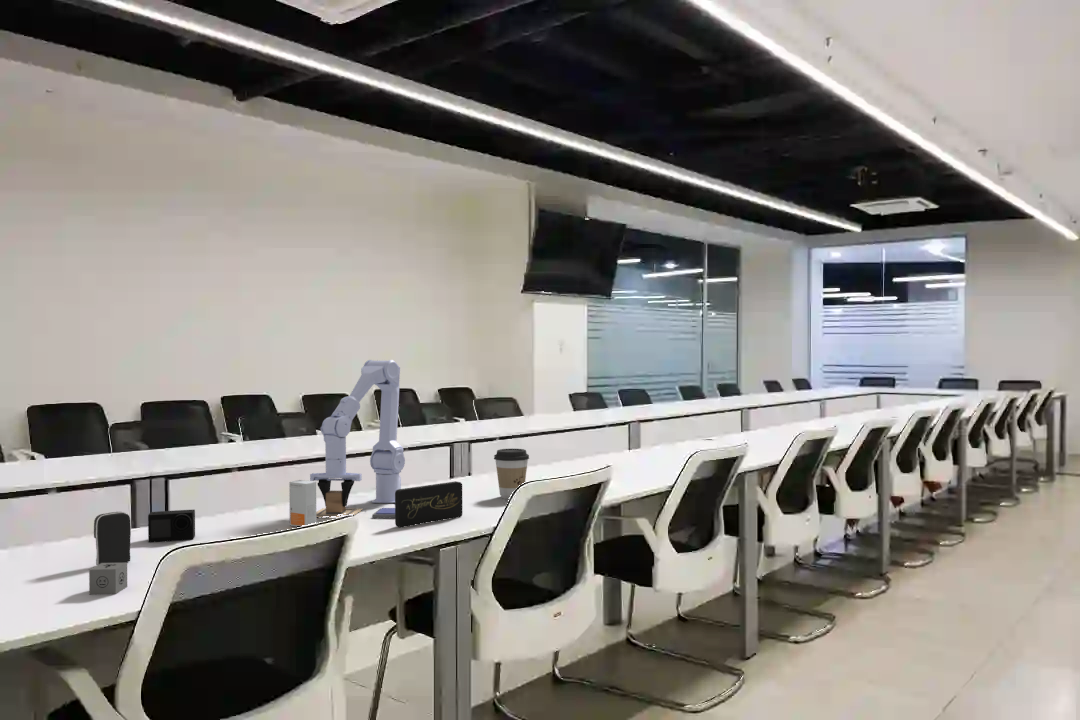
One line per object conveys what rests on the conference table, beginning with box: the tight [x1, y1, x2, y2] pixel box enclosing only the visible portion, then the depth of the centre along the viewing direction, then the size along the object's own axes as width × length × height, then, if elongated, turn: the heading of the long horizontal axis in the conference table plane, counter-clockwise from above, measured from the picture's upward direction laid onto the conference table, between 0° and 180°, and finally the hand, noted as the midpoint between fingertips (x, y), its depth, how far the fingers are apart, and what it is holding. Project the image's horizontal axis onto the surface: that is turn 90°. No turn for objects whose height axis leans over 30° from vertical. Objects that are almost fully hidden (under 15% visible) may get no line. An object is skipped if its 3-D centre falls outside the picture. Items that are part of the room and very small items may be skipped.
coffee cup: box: [493, 448, 530, 500], centre depth 261 cm, size 11×11×15 cm
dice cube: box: [88, 562, 128, 596], centre depth 162 cm, size 5×5×5 cm
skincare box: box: [288, 479, 317, 528], centre depth 220 cm, size 6×4×12 cm
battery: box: [93, 511, 132, 566], centre depth 182 cm, size 7×4×11 cm, turn 137°
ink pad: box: [371, 507, 395, 519], centre depth 234 cm, size 9×9×1 cm
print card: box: [316, 507, 363, 517], centre depth 236 cm, size 12×12×1 cm
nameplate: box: [394, 481, 463, 528], centre depth 225 cm, size 21×2×10 cm, turn 132°
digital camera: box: [147, 509, 196, 543], centre depth 205 cm, size 10×5×7 cm, turn 107°
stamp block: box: [325, 490, 347, 514], centre depth 236 cm, size 4×4×6 cm
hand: (336, 505), depth 236 cm, fingers closed on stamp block, 4 cm apart
